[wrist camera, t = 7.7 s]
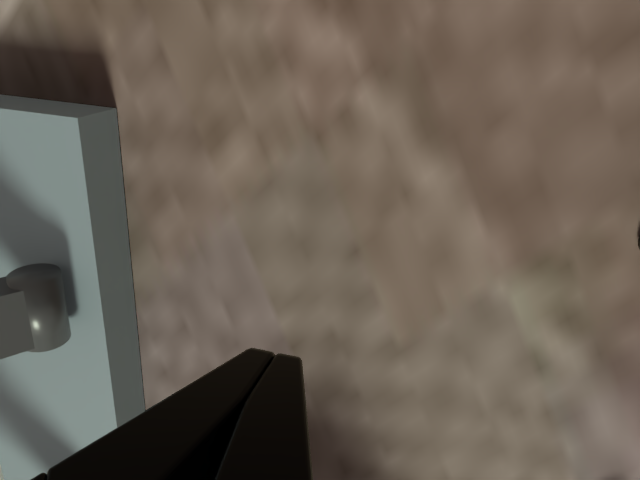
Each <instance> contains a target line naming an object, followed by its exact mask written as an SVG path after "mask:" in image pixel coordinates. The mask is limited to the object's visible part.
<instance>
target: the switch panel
mask: <svg viewBox="0 0 640 480" xmlns="http://www.w3.org/2000/svg"><path fill="white" fill-rule="evenodd" d="M37 263H48V264H54V265H56V266H58V267H59V268H60V269H61V274H62V280H63V286H64V292H65V298H66V305H67V311H68V317H69V323H70V329H71V337H70V339H69V340H68V341H67V342H66V343H65V344H64V345H62V346H60V347H58V348H56V349H53V350H50V351H46V352H28V351H26V352H22V353H19V354H16V355H13V356H10V357H7V358H4V359H0V480H30V479H32V478H34V477H35V476H37V475H39V474H40V473H46V474H47V472H48V470H49V469H50V468H51V467H53V466H54V465H56V464H58V463H59V462H61V461H63V460H64V459H66V458H68V457H69V456H71V455H73V454H74V453H76V452H78V451H79V450H81V449H83V448H84V447H86V446H88V445H89V444H91V443H93V442H94V441H96V440H97V439H99V438H101V437H102V436H104V435H106V434H107V433H109V432H111V431H112V430H114V429H116V428H117V427H119V426H121V425H122V424H124V423H126V422H127V421H129V420H131V419H132V418H134V417H136V416H137V415H139V414H141V413H142V412H144V411H145V403H144V393H143V382H142V372H141V361H140V351H139V340H138V330H137V319H136V309H135V298H134V288H133V277H132V267H131V256H130V246H129V235H128V225H127V214H126V204H125V194H124V183H123V173H122V162H121V152H120V141H119V131H118V120H117V110H116V108H110V107H102V106H94V105H85V104H77V103H68V102H60V101H52V100H43V99H35V98H26V97H18V96H10V95H1V94H0V278H1V277H6V276H7V275H8V274H9V273H10V272H11V271H13V270H15V269H17V268H19V267H22V266H26V265H30V264H37Z"/></svg>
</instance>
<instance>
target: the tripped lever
mask: <svg viewBox="0 0 640 480" xmlns="http://www.w3.org/2000/svg"><path fill="white" fill-rule="evenodd" d="M70 337H71V329H70V323H69V317H68V311H67V305H66V298H65V292H64V286H63V280H62V274H61V269H60V268H59V267H58V266H56V265H54V264H48V263H37V264H30V265H26V266H22V267H19V268H17V269H15V270H13V271H11V272H10V273H9V274H8V275H7V276H6V277H1V278H0V359H4V358H7V357H10V356H13V355H16V354H19V353H22V352H26V351H28V352H46V351H50V350H53V349H56V348H58V347H60V346H62V345H64V344H65V343H66V342H67V341H68V340H69V339H70Z"/></svg>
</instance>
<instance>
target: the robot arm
mask: <svg viewBox="0 0 640 480" xmlns="http://www.w3.org/2000/svg"><path fill="white" fill-rule="evenodd" d="M638 247H639V249H640V238H639V240H638ZM30 480H313V477H312V466H311V455H310V444H309V433H308V422H307V411H306V400H305V389H304V378H303V366H302V360H301V358H299V357H296V356H291V355H286V354H277V355H275V354H274V353H273V352H270V351H265V350H260V349H255V348H250V349H248V350H246V351H244V352H242V353H241V354H239V355H237V356H236V357H234V358H232V359H231V360H229V361H227V362H226V363H224V364H222V365H221V366H219V367H217V368H216V369H214V370H212V371H211V372H209V373H207V374H206V375H204V376H202V377H201V378H199V379H197V380H196V381H194V382H192V383H191V384H189V385H187V386H186V387H184V388H182V389H181V390H179V391H177V392H176V393H174V394H172V395H171V396H169V397H167V398H166V399H164V400H162V401H161V402H159V403H157V404H156V405H154V406H152V407H151V408H149V409H147V410H146V411H144V412H142V413H141V414H139V415H137V416H136V417H134V418H132V419H131V420H129V421H127V422H126V423H124V424H122V425H121V426H119V427H117V428H116V429H114V430H112V431H111V432H109V433H107V434H106V435H104V436H102V437H101V438H99V439H97V440H96V441H94V442H93V443H91V444H89V445H88V446H86V447H84V448H83V449H81V450H79V451H78V452H76V453H74V454H73V455H71V456H69V457H68V458H66V459H64V460H63V461H61V462H59V463H58V464H56V465H54V466H53V467H51V468H50V469H49V470H48V472H47V474H46V473H40V474H39V475H37V476H35V477H34V478H32V479H30Z"/></svg>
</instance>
